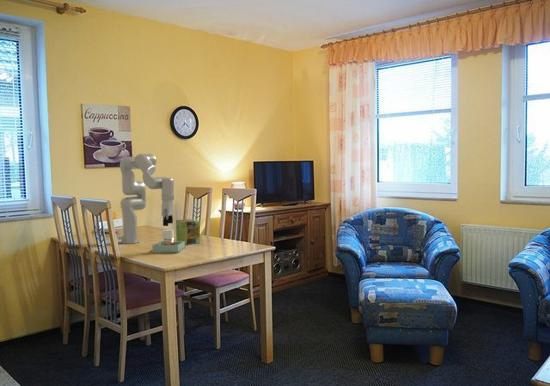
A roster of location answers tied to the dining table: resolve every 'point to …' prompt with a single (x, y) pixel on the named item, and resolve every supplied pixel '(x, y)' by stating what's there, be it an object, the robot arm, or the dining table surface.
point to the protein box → (188, 231)
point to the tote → (168, 247)
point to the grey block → (167, 234)
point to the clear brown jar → (169, 242)
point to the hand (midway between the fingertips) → (167, 224)
